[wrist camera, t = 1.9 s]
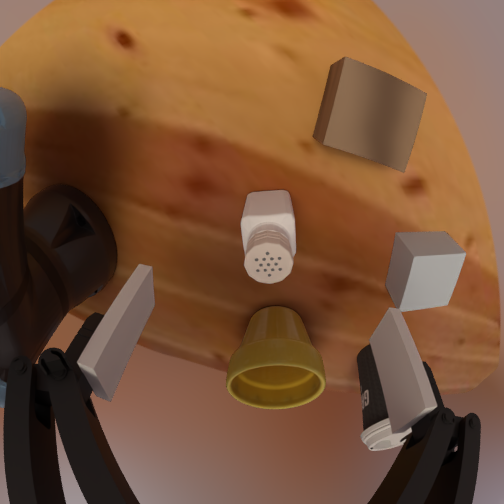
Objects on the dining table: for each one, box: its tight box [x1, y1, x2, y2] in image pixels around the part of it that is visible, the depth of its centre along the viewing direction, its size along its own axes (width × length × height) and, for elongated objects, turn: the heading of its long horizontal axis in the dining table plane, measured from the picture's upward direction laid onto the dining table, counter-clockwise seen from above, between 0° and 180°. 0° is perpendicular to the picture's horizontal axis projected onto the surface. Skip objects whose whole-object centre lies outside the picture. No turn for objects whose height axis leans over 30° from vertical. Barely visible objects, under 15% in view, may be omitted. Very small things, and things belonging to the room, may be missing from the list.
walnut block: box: [313, 57, 427, 173], centre depth 18 cm, size 7×7×5 cm
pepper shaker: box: [241, 190, 296, 284], centre depth 22 cm, size 4×4×10 cm
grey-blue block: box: [385, 231, 466, 312], centre depth 25 cm, size 7×7×5 cm
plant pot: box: [226, 306, 326, 409], centre depth 29 cm, size 10×10×10 cm
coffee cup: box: [357, 345, 412, 451], centre depth 30 cm, size 10×10×15 cm
